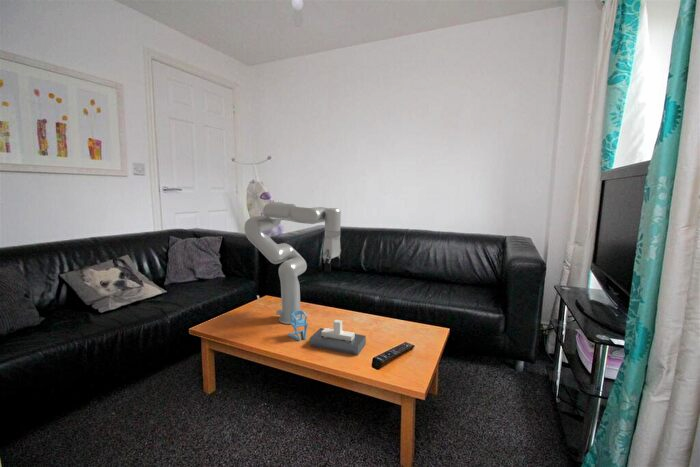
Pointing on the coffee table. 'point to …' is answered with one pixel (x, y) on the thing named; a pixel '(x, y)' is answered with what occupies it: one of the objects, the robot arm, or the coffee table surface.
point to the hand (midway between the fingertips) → (332, 268)
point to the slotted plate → (338, 343)
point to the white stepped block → (338, 332)
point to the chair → (298, 325)
